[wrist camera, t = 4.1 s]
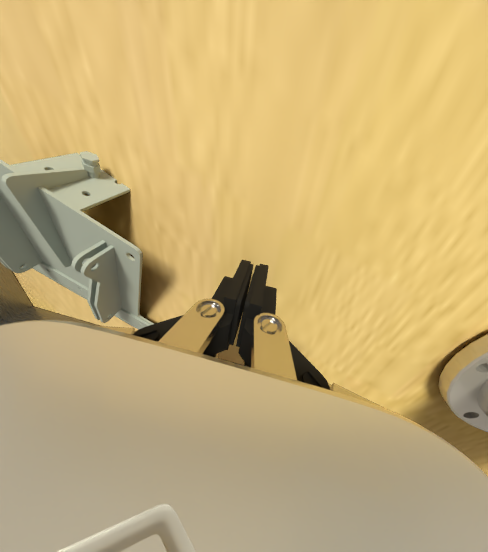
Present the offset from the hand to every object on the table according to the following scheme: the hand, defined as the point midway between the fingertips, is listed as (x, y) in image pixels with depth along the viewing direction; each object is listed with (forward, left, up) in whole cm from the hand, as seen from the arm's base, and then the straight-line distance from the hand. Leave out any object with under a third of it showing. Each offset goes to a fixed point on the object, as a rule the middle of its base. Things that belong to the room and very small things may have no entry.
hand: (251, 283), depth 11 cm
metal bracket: (+13, +1, -2) cm, 13 cm away
